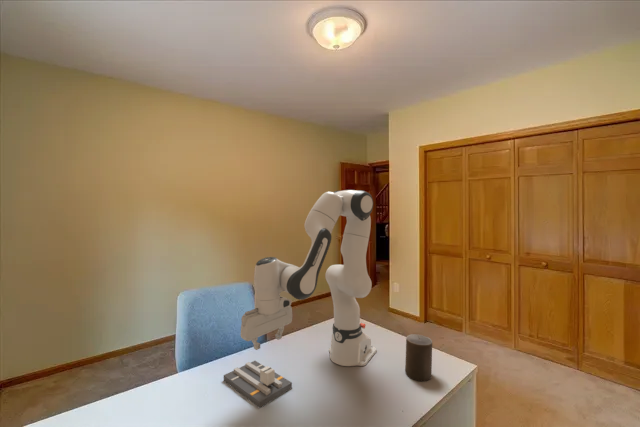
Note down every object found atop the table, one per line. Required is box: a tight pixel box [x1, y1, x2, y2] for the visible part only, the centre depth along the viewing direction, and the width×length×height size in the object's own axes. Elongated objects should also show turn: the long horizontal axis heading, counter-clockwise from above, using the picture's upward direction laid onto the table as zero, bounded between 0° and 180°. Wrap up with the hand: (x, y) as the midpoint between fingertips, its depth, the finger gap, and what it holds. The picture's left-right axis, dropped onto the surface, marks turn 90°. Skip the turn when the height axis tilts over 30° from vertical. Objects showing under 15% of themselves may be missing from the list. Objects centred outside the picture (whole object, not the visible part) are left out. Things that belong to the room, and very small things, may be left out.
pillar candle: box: [404, 333, 433, 382], centre depth 114 cm, size 10×10×15 cm
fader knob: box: [260, 365, 276, 387], centre depth 103 cm, size 3×4×5 cm
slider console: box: [223, 360, 293, 409], centre depth 107 cm, size 14×22×3 cm, turn 48°
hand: (268, 343), depth 102 cm, fingers open, 8 cm apart
